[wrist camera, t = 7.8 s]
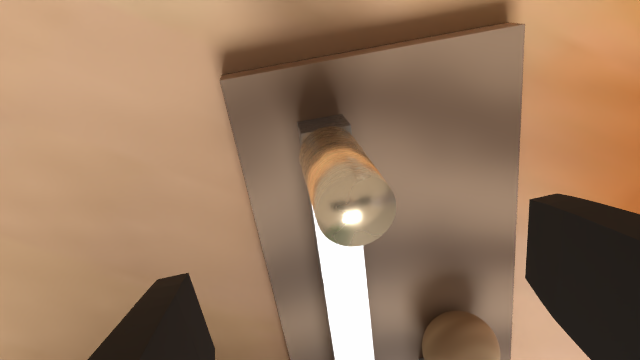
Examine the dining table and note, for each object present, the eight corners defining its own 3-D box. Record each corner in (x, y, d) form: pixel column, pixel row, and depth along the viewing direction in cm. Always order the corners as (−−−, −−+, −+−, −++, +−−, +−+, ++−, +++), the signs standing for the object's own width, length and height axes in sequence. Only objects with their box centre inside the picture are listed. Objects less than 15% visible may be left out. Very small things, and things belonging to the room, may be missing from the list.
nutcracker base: (498, 366, 26) (541, 430, 22) (306, 413, 25) (316, 488, 21) (507, 22, 18) (578, 29, 14) (221, 75, 17) (212, 98, 13)
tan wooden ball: (463, 283, 21) (502, 335, 18) (486, 329, 23) (525, 384, 20) (400, 317, 22) (427, 374, 18) (427, 360, 23) (456, 420, 20)
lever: (374, 393, 23) (414, 521, 18) (335, 401, 23) (363, 534, 17) (345, 108, 17) (394, 166, 11) (290, 117, 17) (311, 181, 11)
